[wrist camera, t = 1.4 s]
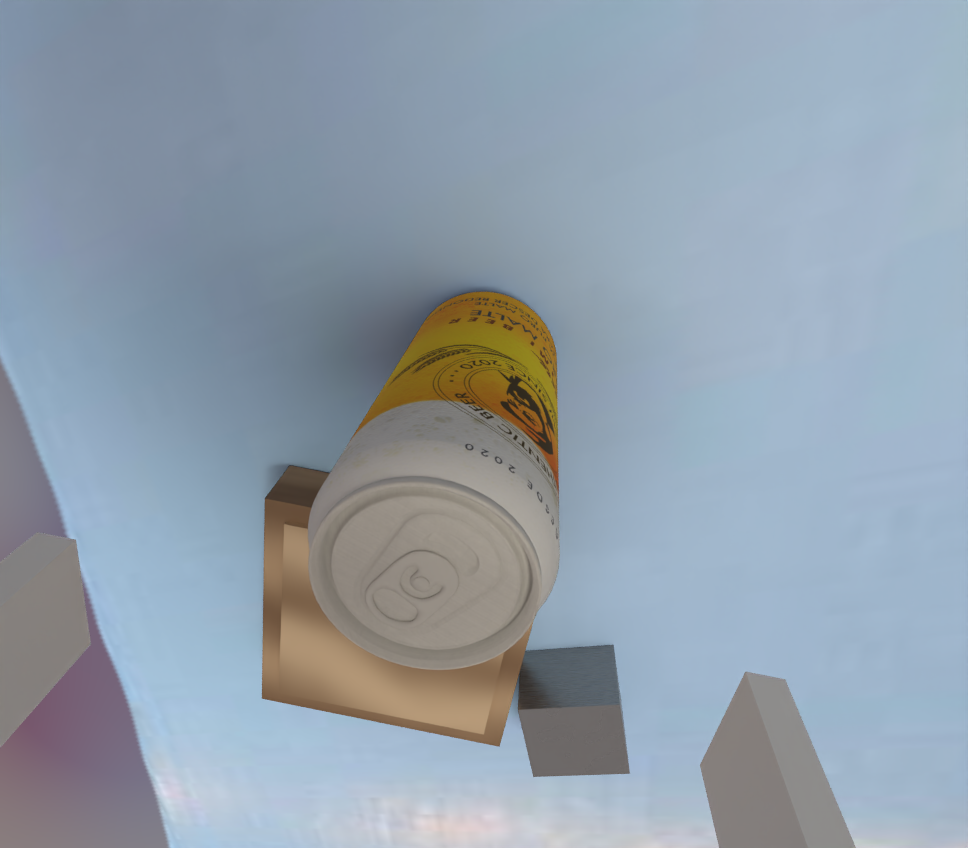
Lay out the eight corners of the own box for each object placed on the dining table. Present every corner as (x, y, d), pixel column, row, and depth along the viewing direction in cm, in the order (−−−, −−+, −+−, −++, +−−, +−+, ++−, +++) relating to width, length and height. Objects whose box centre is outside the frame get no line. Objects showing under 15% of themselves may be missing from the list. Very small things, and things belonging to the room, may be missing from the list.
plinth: (289, 465, 31) (262, 501, 28) (551, 517, 31) (551, 558, 28) (283, 656, 37) (260, 702, 34) (503, 700, 37) (499, 750, 34)
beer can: (586, 352, 27) (618, 586, 14) (492, 443, 30) (441, 718, 16) (479, 255, 26) (399, 409, 12) (389, 359, 28) (240, 581, 15)
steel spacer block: (521, 649, 35) (517, 709, 32) (613, 643, 34) (620, 704, 31) (535, 712, 37) (533, 776, 34) (622, 708, 36) (629, 773, 33)
